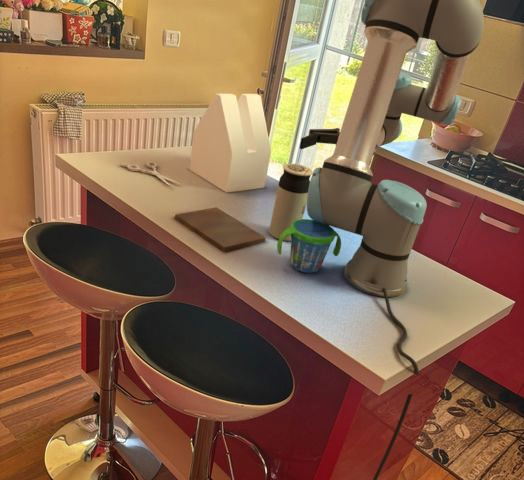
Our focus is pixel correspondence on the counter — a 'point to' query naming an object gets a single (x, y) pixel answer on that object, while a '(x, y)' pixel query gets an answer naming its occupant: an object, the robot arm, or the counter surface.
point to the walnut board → (220, 228)
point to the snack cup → (309, 244)
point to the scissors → (154, 172)
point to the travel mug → (290, 198)
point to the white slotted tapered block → (232, 143)
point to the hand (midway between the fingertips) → (322, 153)
